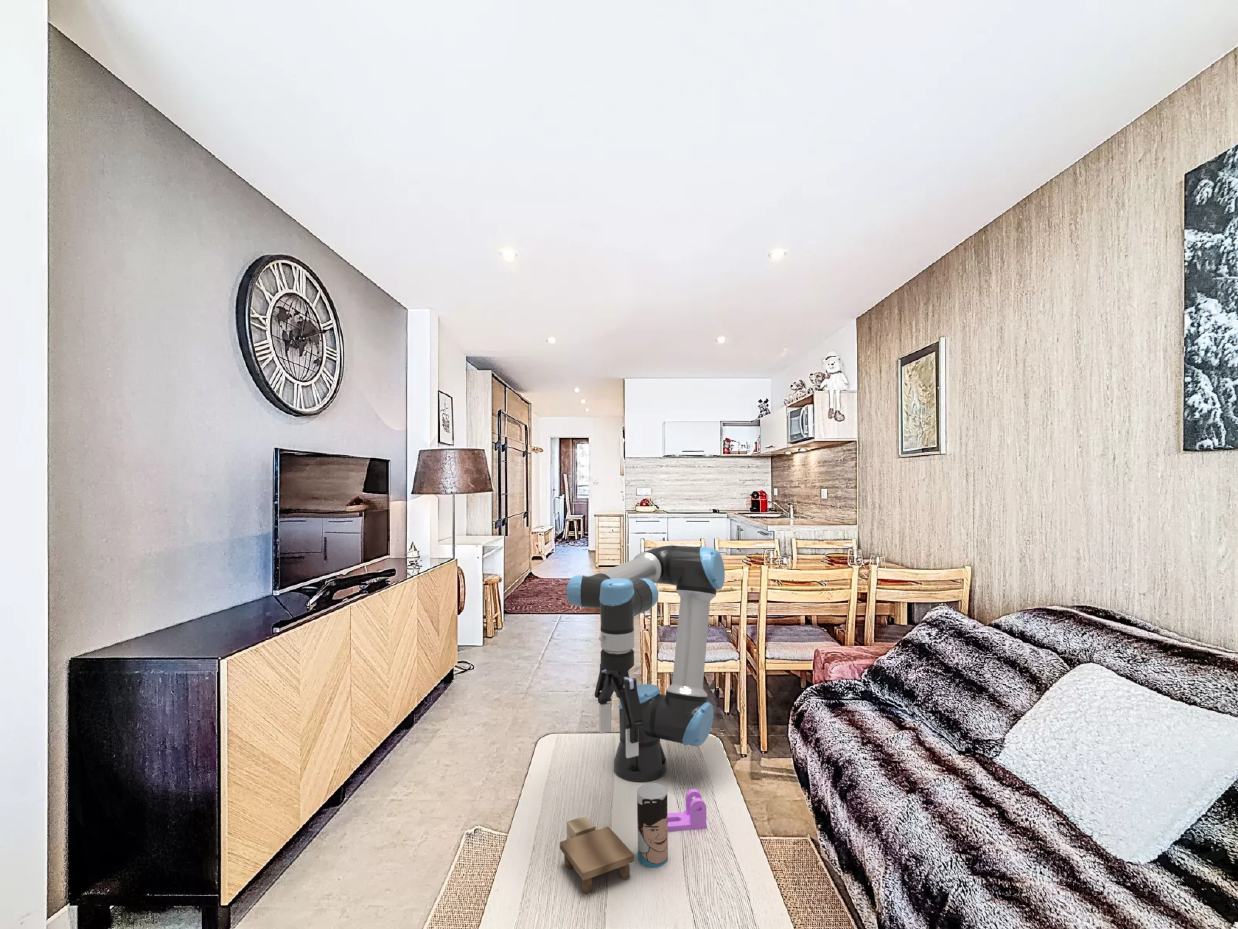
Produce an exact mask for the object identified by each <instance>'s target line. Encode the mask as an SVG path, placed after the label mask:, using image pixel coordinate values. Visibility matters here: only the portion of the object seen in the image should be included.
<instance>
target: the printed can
mask: <svg viewBox="0 0 1238 929" xmlns="http://www.w3.org/2000/svg"><path fill="white" fill-rule="evenodd" d="M636 801H637V802H636V803H637V804H636V806H637V807H636V809H637V810H636V811H637V812H636V813H637V814H636V815H637V816H636V818H637V821H636V823H637V825H636V826H637V860H638V862H639V864H641V865H643V866H644V867H648V868H659V867H662V866H664V865H665V864H667V862H668V861H669V860H668V859H669V847H668V846H669V842H668V841H669V840H668V838H669V836H668V835H669V834H668V833H669V832H668V814H667V813H668V789H667V788H666V787H665V786H664V785H663V784H660V783H658V782H657V783H655V782H650V783H644V784H641V785H640V786H638V787H637V790H636Z"/></svg>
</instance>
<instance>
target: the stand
mask: <svg viewBox="0 0 1238 929" xmlns="http://www.w3.org/2000/svg"><path fill="white" fill-rule="evenodd" d="M559 849H560V852H562V854H563V856H564V861H563V862H564V863H563V864H564V868H565V869H567V870H572V869H574V870H575V872H576V873H577V874H578V875H579V877H580V879H581V892H582V894H584V895H590V894H592V892H593V886H592V883H593V881H592V878H594V877H597V876H600V875H603V874H605V873H609V872H610V871H613V870H616V869H620V870H619V872H620V873H619V875H620V879H621V880H629V879H630V878H631V877H630V876H631V875H630V873H631V872H630V871H631V870H630V868H631V866H630V865H631V864H633V863H635V853H634V852H633V851H632V850H631V849H630V848H629V847H628V846H627V845H626V844H625V843H624V842H623V841H622V840H621V838H619V837H618V835H617V833H615V832H614V831H613V830H612V829H611V828H610V827H609V826H608V825H607V826H605V827H601V828H598V829H596V830H595V831H592V832H589V833H586V834H583V835H580V836H576V837H573V838H570V839H567V838H566V839H565V840H562V841H559Z"/></svg>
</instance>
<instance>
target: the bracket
mask: <svg viewBox="0 0 1238 929" xmlns="http://www.w3.org/2000/svg"><path fill="white" fill-rule="evenodd" d="M667 814H668V833H670V832H682V831H692V830H703V829H704V830H705V829H707V804H706V803H705V801H704V800H703V799H702V795H701V792H700V791H699V790H698V789H696V788H691V789H689V790H688V791H687V792H686V794H685V811H681V812H680V811H679V812H667Z"/></svg>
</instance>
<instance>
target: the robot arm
mask: <svg viewBox="0 0 1238 929" xmlns="http://www.w3.org/2000/svg"><path fill="white" fill-rule="evenodd" d="M724 564H725V563H724V560H723V557H722V555H721V553H720V552H719V551H718V549H715V548H712V547H706V546H692V545H691V546H689V545H688V546H687V545H673V544H672V545H663V546H657V547H654V548H651V549H649V550H645V551H642V552H640V553H638V554H637V555H635V556H634V558H633V559H631V560H629V561H626V562H624V563H621V564H618V565H616V566H614V567H611V568H609V569H607V570H603V571H601V572H598V573H595V574H593V575H588V576H587V575H574V576H572V577H571V578H570V579H569V580H568V582H567V584H566V599H567V601H568V603H569V604H571V605H572V606H575V607H580V608H587V609H588V608H589V609H597V610H599V612H600V615H599V616H600V619H599V620H600V636H599V637H598V640H599V641H600V648H601V651H600V663H599V673H598V677H597V681H596V687H595V689H594V690H595V691H594V697H595V699H597V703H598V704H599V706H598V708H599V709H598V713H599V714H598V716H599V718H598V719H599V724H598V725H599V733H600V734H604V733H610V732H612V703H611V702H612V696H613V694H614V692H615V695H616V697H617V698H618V699H619V701H618V702H619V704H618V710H619V711H618V716H619V717H618V718H619V742H618V745H617V749H616V753H615V755H614V756H615V757H614V760H613V771H614V773H615V774H616V775H617V776H618V777H620V778H621V779H624V780H627V781H631V782H638V783H639V782H650V781H655V780H657V779H659V778H662V777H663V776H664V775H665V774H666V772H667V759H666V755H665V753H664V749H663V747H662V744H661V740H664V741H669V742H673V743H677V744H682V745H683V746H692V747H699V746H701V745H703V744H704V743H705V742H706V740H707V739H708V736H709V735H710V734H711V729H712V726H713V721H714V716H715V715H714V714H715V712H714V706H713V704H712V703H710V702H709V701H708V693H707V692H706V691H705V689H704V677H705V666H706V656H707V655H706V654H707V653H706V652H707V642H708V641H707V640H708V631H709V630H708V629H709V620H710V618H709V617H710V607H711V606H710V605H711V601H712V600H713V599H714V598H715V597H717V596H716V595H717V590H719V591H720V590H722V588H724V583H725V576H726V572H725V571H726V570H725V565H724ZM656 584H664V585H671V586H675V592H676V593H677V595H678V596H679V598H680V599H679V610H678V621H677V630H676V640H675V641H676V642H675V651H674V661H673V662H674V663H673V669H672V670H673V672H672V673H673V674H672V682H671V684H670V685H669V686H668V687H667V688H666V689H665V694H662V693H661V689H660V687H659V686H658V685H656V684H650V683H643V684H642V683H641V684H638V683H637V678H636V677H634V678H630V674H629V673H630V672H629V671H630V670H631V669H633V667H634V666H635V651H634V648H635V629H634V628H635V627H634V623H635V622H634V620H635V618H634V617H635V616H637V615H639V614H642V613H644V612H647V611H650V609H651V608H653V607H654V606H655V605H656V604H657V601H658V599H659V590H658V587H657V585H656Z"/></svg>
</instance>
